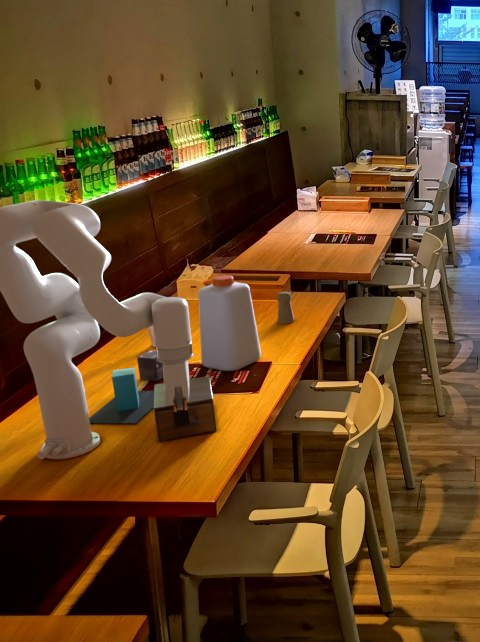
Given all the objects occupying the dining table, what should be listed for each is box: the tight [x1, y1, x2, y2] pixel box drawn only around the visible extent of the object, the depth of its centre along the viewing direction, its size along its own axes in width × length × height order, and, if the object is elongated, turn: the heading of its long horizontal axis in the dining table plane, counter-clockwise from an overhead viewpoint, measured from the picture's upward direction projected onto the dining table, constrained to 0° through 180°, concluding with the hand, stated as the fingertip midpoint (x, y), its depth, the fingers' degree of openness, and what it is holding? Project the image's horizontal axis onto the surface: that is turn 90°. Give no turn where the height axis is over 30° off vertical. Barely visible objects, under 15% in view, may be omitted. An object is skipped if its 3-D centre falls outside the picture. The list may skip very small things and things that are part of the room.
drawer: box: [157, 402, 214, 440], centre depth 185 cm, size 19×12×7 cm, turn 24°
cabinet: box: [153, 375, 218, 442], centre depth 189 cm, size 16×14×9 cm
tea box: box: [111, 366, 139, 411], centre depth 198 cm, size 5×5×10 cm
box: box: [136, 350, 164, 382], centre depth 218 cm, size 6×6×7 cm
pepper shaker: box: [276, 291, 295, 325], centre depth 267 cm, size 6×6×11 cm
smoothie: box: [146, 326, 156, 348], centre depth 244 cm, size 6×6×14 cm
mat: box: [89, 390, 154, 426], centre depth 199 cm, size 20×14×1 cm
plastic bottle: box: [198, 274, 262, 372], centre depth 227 cm, size 15×15×28 cm
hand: (182, 424), depth 170 cm, fingers closed
